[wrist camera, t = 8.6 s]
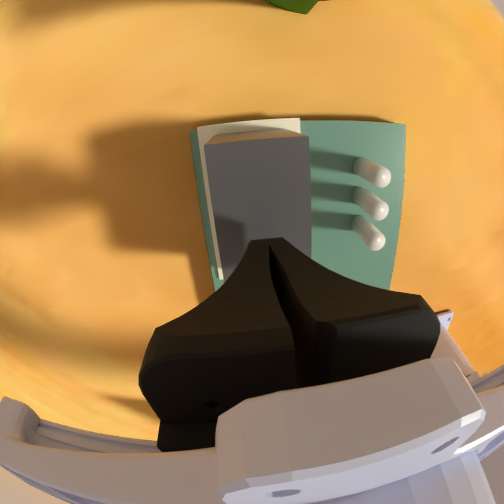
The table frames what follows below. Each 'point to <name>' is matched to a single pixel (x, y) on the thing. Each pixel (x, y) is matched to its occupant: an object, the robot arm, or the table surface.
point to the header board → (333, 192)
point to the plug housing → (259, 190)
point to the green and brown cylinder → (295, 5)
